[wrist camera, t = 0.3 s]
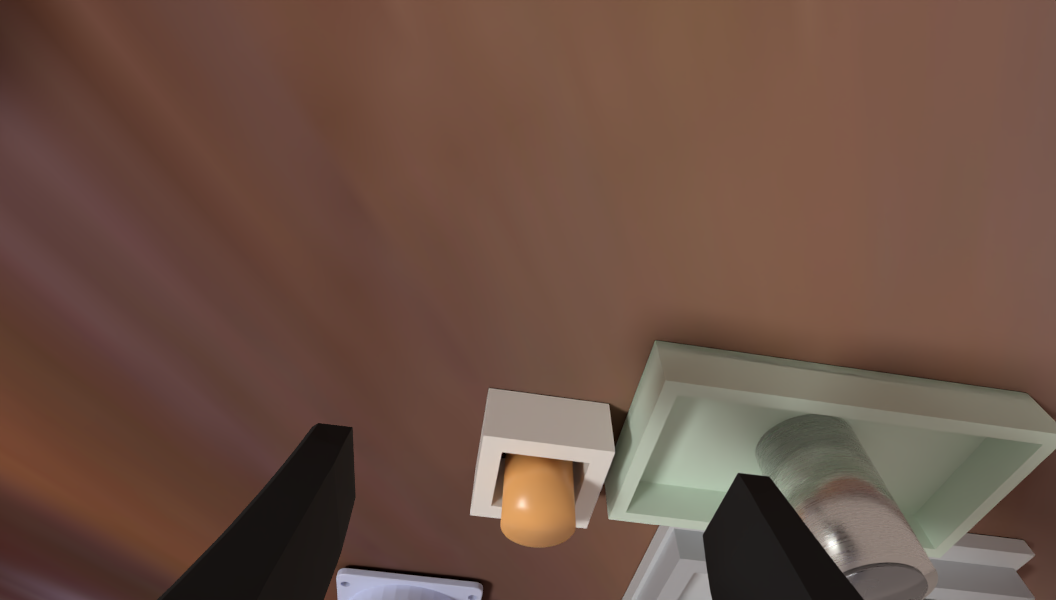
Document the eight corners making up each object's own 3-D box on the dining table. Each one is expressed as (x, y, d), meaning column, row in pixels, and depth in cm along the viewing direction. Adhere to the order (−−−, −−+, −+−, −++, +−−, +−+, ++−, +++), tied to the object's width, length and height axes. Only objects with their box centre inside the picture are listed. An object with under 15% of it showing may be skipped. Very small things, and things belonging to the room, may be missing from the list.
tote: (913, 514, 27) (939, 558, 25) (603, 476, 26) (608, 519, 24) (1026, 393, 22) (1069, 435, 20) (655, 340, 21) (665, 380, 19)
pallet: (913, 634, 34) (935, 677, 32) (620, 602, 32) (625, 645, 30) (1023, 540, 28) (1058, 585, 26) (673, 497, 27) (683, 542, 25)
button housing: (582, 479, 26) (586, 528, 24) (475, 466, 26) (469, 514, 24) (609, 403, 23) (615, 452, 21) (488, 388, 23) (483, 435, 21)
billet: (827, 482, 25) (899, 629, 20) (740, 471, 25) (791, 617, 20) (873, 420, 23) (968, 568, 18) (778, 407, 22) (847, 555, 17)
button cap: (565, 485, 24) (567, 551, 22) (500, 477, 24) (496, 542, 22) (578, 443, 23) (583, 508, 20) (510, 433, 22) (506, 498, 20)
